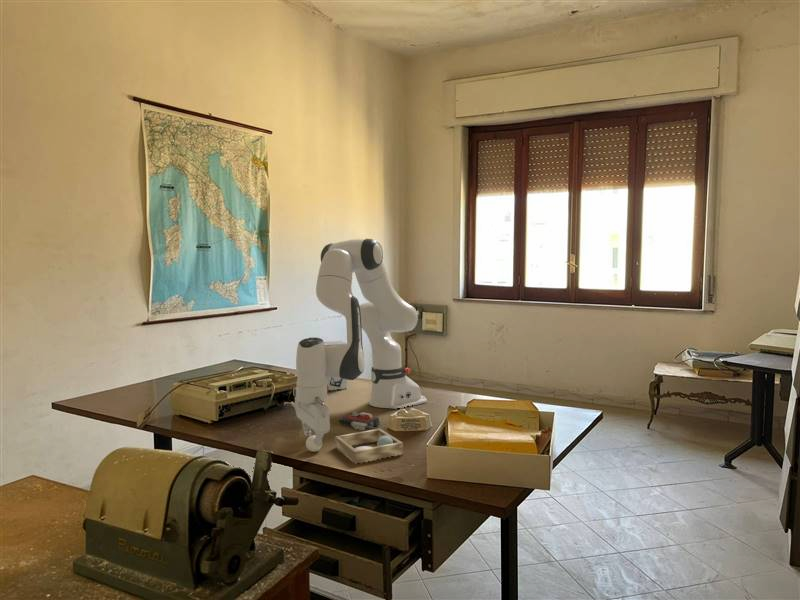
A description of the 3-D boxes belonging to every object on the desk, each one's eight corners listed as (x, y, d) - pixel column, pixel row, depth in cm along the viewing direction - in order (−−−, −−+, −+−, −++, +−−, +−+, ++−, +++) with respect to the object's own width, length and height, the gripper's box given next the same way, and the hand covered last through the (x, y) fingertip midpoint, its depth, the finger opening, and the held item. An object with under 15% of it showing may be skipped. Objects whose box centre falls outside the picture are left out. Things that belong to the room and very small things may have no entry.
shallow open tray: (380, 439, 177) (380, 428, 176) (403, 454, 163) (402, 442, 163) (335, 447, 170) (335, 436, 169) (355, 464, 156) (355, 452, 156)
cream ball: (319, 447, 170) (318, 431, 170) (324, 452, 166) (324, 436, 166) (303, 450, 168) (303, 434, 167) (309, 455, 164) (308, 439, 163)
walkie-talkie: (334, 426, 191) (384, 436, 181) (334, 413, 191) (383, 422, 180) (350, 419, 199) (398, 428, 188) (350, 407, 198) (398, 415, 188)
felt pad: (369, 445, 171) (369, 444, 171) (377, 452, 166) (377, 451, 166) (350, 449, 168) (350, 448, 168) (358, 455, 163) (358, 454, 163)
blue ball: (388, 447, 169) (388, 432, 168) (396, 453, 165) (396, 437, 164) (374, 450, 167) (374, 435, 166) (381, 455, 162) (381, 439, 162)
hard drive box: (312, 393, 234) (310, 345, 232) (307, 389, 241) (306, 342, 239) (347, 389, 240) (346, 342, 239) (341, 385, 247) (340, 340, 246)
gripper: (335, 400, 158) (335, 448, 159) (310, 385, 176) (311, 429, 177) (313, 403, 155) (314, 452, 156) (291, 388, 173) (292, 432, 174)
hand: (312, 440), depth 166 cm, fingers open, 8 cm apart
